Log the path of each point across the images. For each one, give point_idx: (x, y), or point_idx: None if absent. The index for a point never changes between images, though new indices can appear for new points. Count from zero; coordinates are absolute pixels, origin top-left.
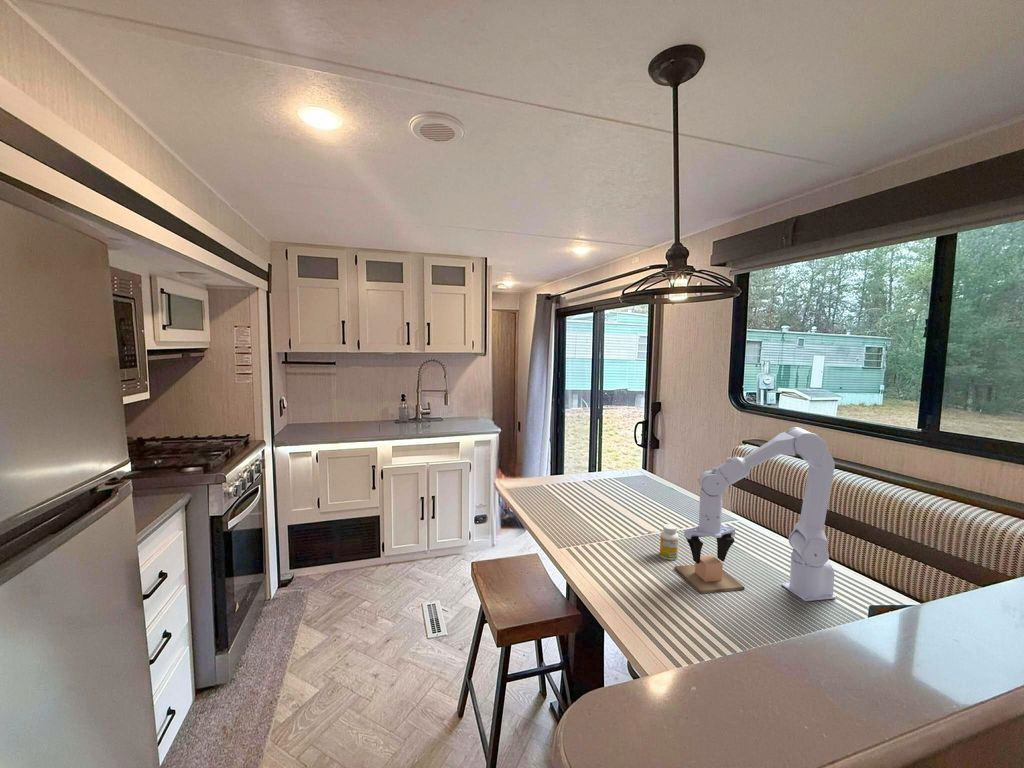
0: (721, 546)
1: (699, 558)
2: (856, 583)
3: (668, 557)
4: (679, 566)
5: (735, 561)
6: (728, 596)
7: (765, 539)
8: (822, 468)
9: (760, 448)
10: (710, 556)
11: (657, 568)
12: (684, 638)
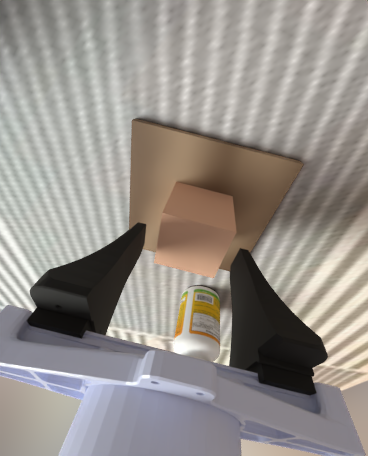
0: (121, 274)
1: (249, 262)
2: None
3: (215, 295)
4: (226, 268)
5: (66, 232)
6: (227, 105)
7: None
8: None
9: None
10: (167, 257)
11: (272, 282)
12: None
